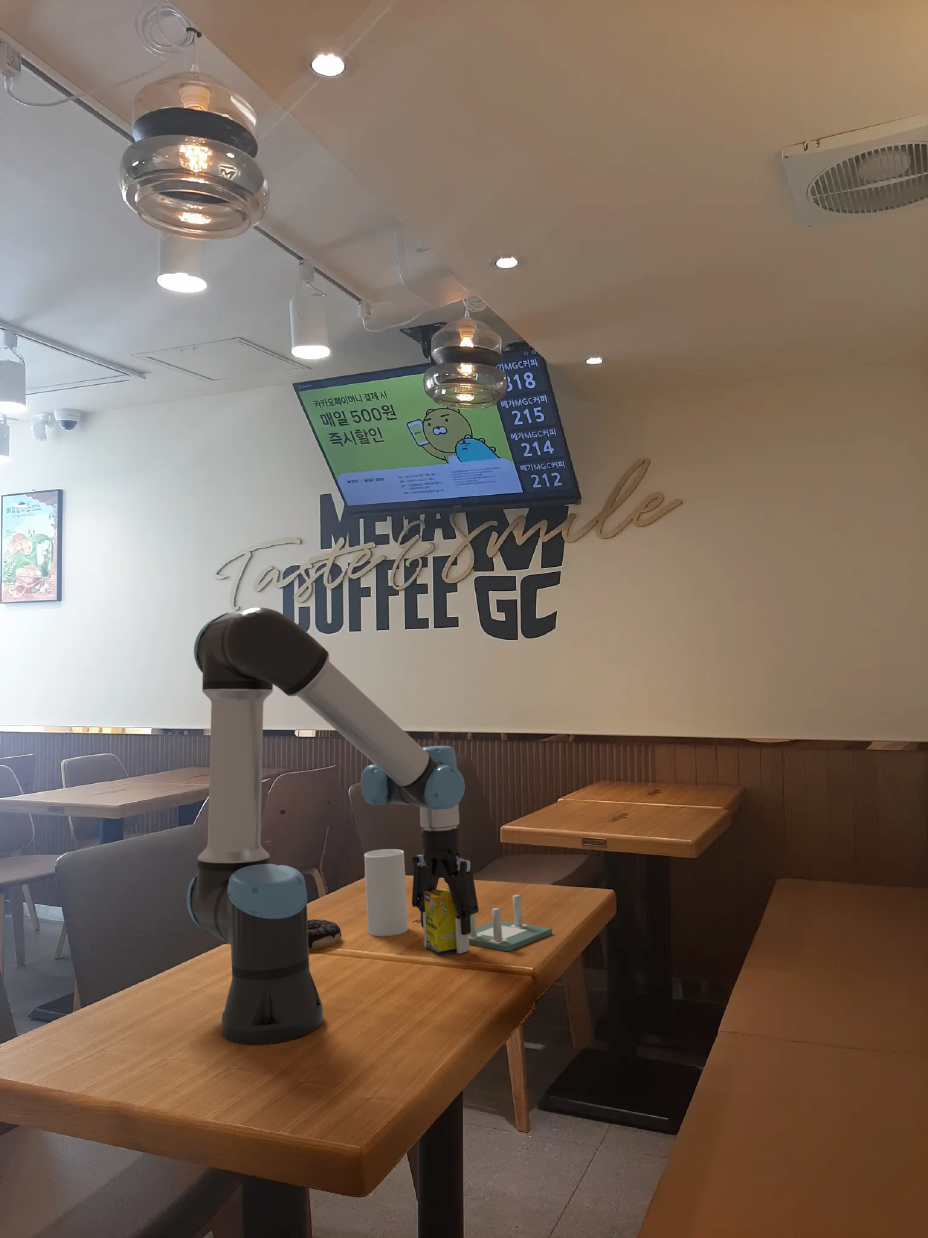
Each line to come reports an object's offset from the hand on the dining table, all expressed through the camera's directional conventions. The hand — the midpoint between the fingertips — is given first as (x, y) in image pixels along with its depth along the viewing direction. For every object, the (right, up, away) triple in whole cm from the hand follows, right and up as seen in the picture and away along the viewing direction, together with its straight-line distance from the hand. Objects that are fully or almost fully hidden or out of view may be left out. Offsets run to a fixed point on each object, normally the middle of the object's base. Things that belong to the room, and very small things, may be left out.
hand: (446, 948), depth 183 cm
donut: (-27, -3, +10) cm, 29 cm away
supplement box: (0, 0, 0) cm, 0 cm away
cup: (-12, -2, +16) cm, 20 cm away
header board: (+11, 0, +6) cm, 13 cm away
